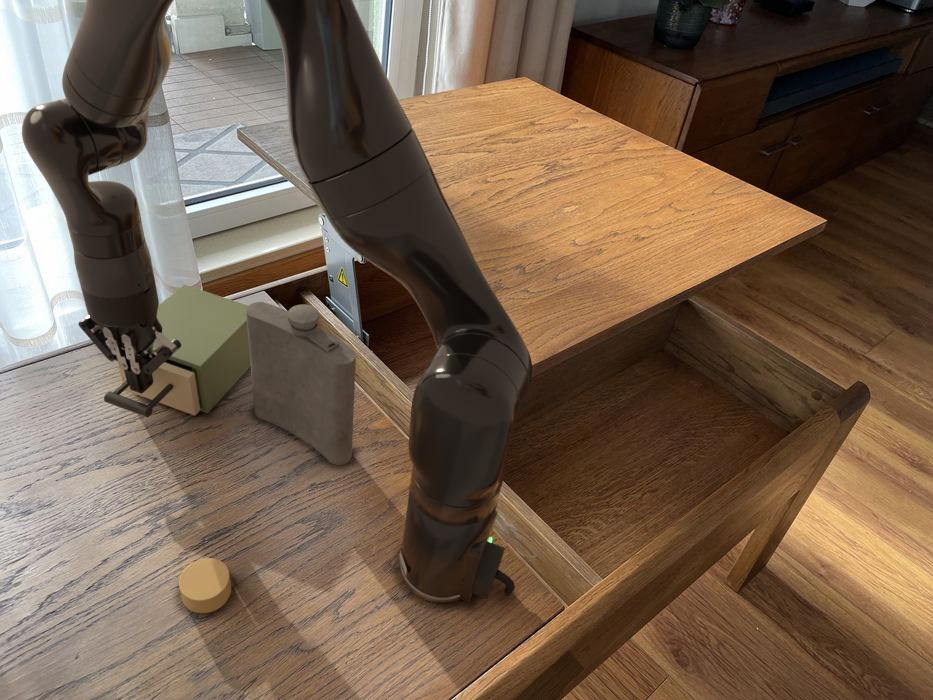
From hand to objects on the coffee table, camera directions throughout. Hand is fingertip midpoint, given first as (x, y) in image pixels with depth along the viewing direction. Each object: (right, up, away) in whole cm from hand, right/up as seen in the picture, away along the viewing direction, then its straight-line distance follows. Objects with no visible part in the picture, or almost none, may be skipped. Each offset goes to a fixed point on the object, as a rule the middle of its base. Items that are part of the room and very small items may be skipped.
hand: (141, 387), depth 90 cm
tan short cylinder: (+13, -21, -14) cm, 28 cm away
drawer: (+1, 0, +7) cm, 7 cm away
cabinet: (+3, +2, +12) cm, 12 cm away
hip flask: (+19, -6, +6) cm, 21 cm away
